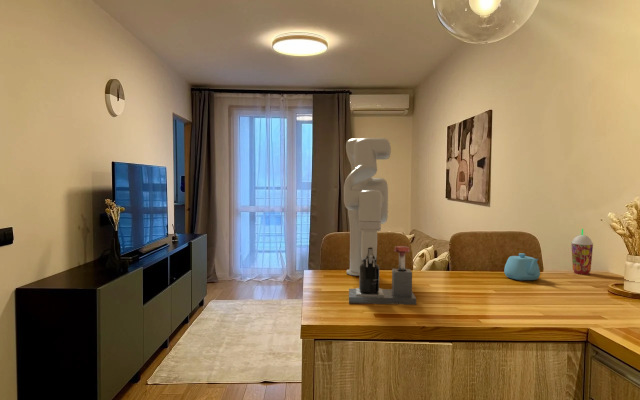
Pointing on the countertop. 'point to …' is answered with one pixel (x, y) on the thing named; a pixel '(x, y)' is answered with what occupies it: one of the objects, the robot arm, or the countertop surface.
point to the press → (388, 291)
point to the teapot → (522, 268)
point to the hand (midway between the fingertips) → (369, 275)
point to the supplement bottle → (368, 284)
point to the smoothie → (582, 254)
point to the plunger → (402, 256)
